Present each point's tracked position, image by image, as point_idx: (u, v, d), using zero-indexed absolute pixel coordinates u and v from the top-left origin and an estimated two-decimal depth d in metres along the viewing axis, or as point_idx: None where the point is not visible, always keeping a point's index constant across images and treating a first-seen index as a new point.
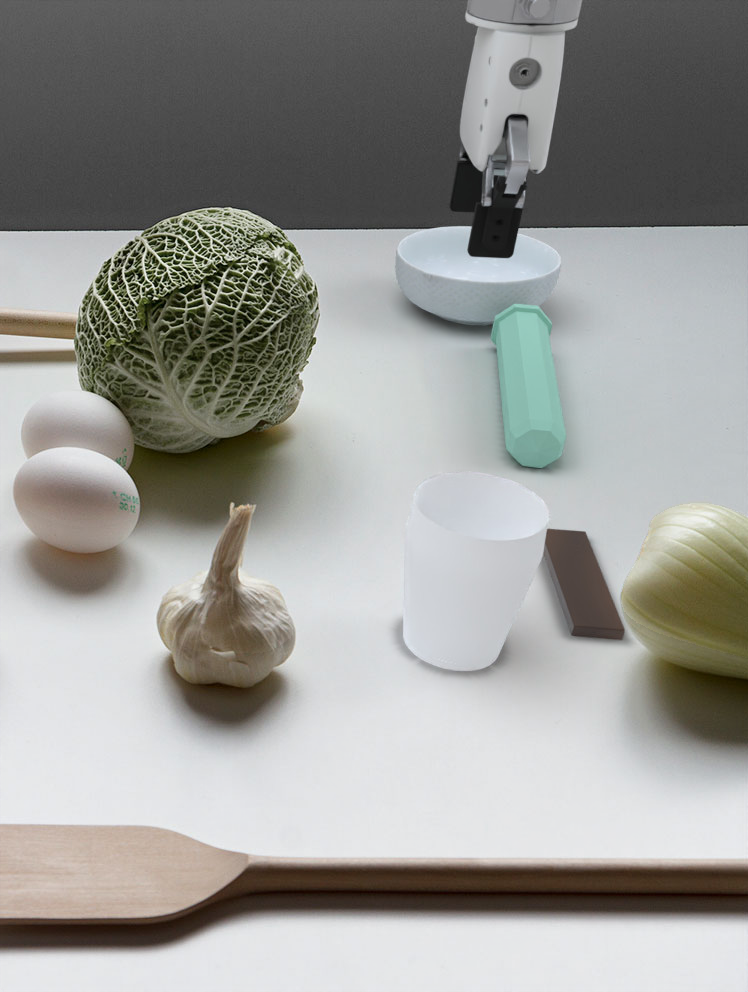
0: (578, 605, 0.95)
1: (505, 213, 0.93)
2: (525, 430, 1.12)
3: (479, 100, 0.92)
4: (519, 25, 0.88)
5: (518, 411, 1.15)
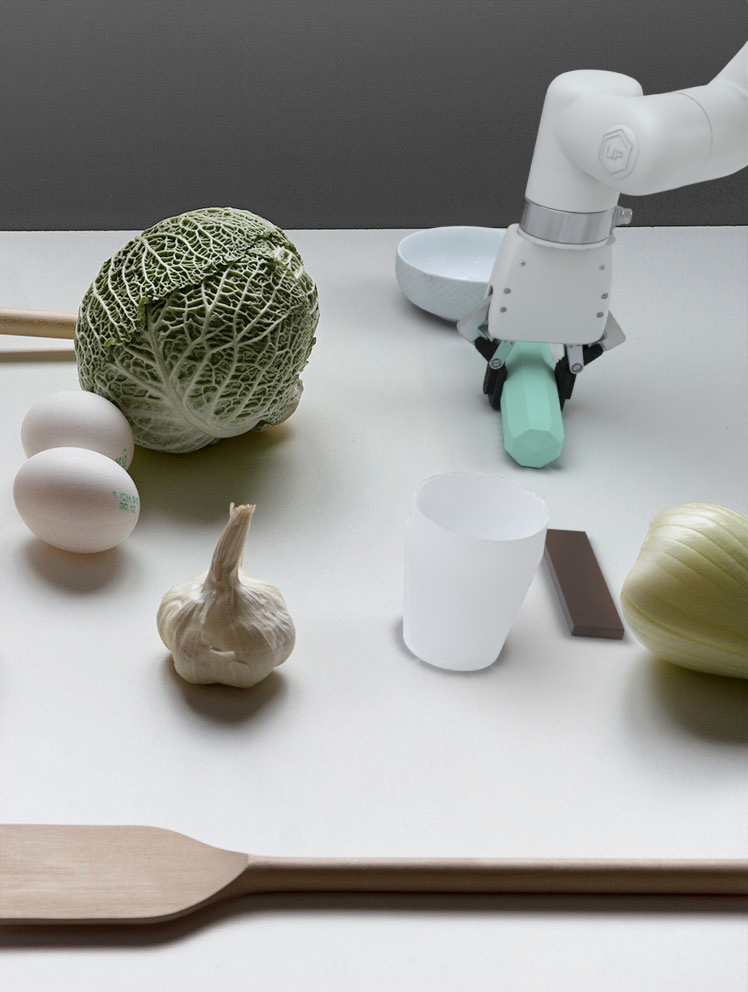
0: (578, 605, 0.95)
1: None
2: (524, 430, 1.12)
3: (588, 298, 1.14)
4: (609, 234, 1.13)
5: (517, 411, 1.15)
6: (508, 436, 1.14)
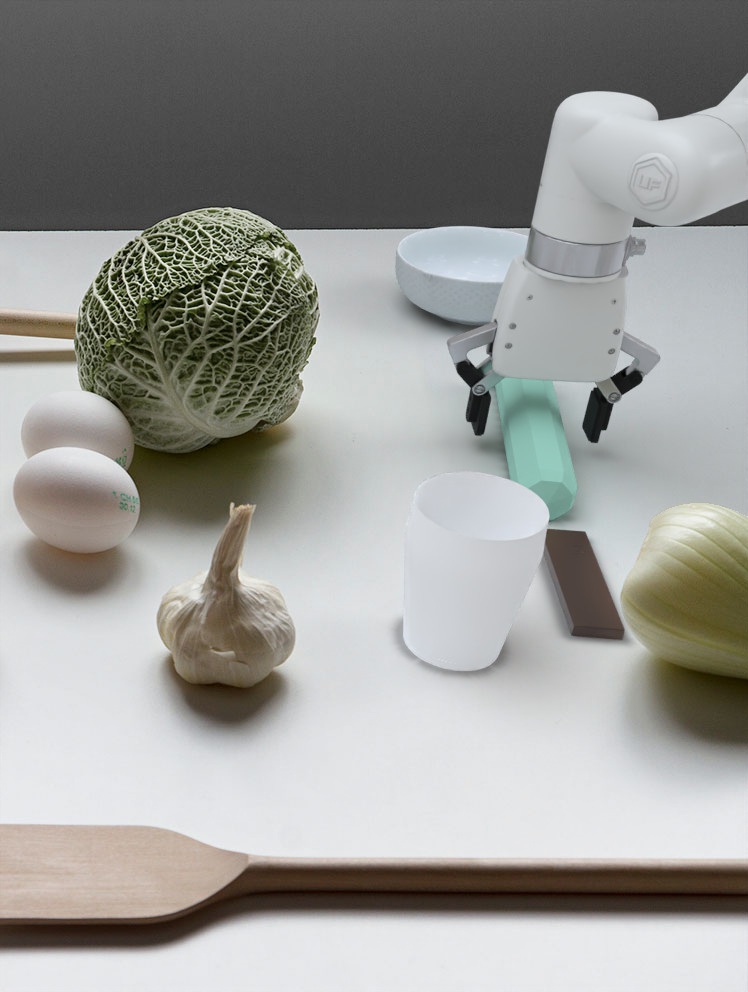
0: (578, 605, 0.95)
1: None
2: (534, 481, 1.05)
3: (599, 334, 1.07)
4: None
5: (525, 459, 1.08)
6: None
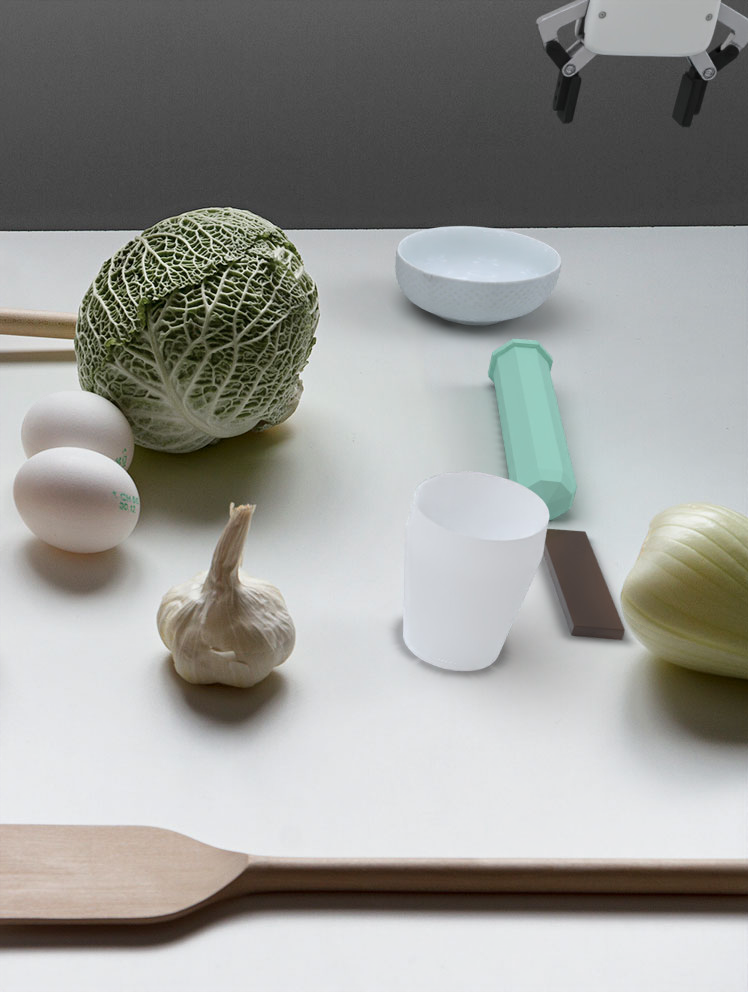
0: (578, 605, 0.95)
1: None
2: (534, 481, 1.05)
3: None
4: None
5: (525, 459, 1.08)
6: None
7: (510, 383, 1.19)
